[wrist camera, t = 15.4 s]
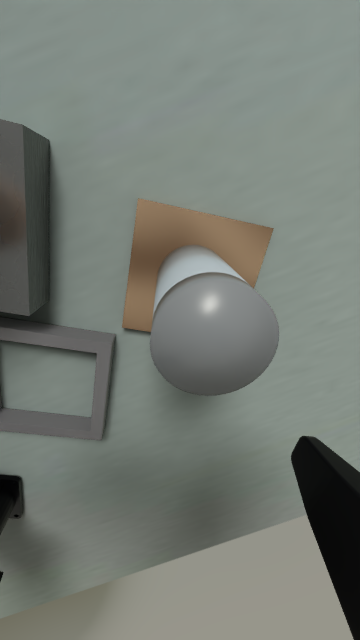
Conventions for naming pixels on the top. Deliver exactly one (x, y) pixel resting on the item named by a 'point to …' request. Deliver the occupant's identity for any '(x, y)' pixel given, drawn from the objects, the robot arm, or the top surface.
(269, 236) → the walnut pad
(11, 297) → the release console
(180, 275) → the cylinder
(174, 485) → the top surface
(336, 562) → the robot arm
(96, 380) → the collar
